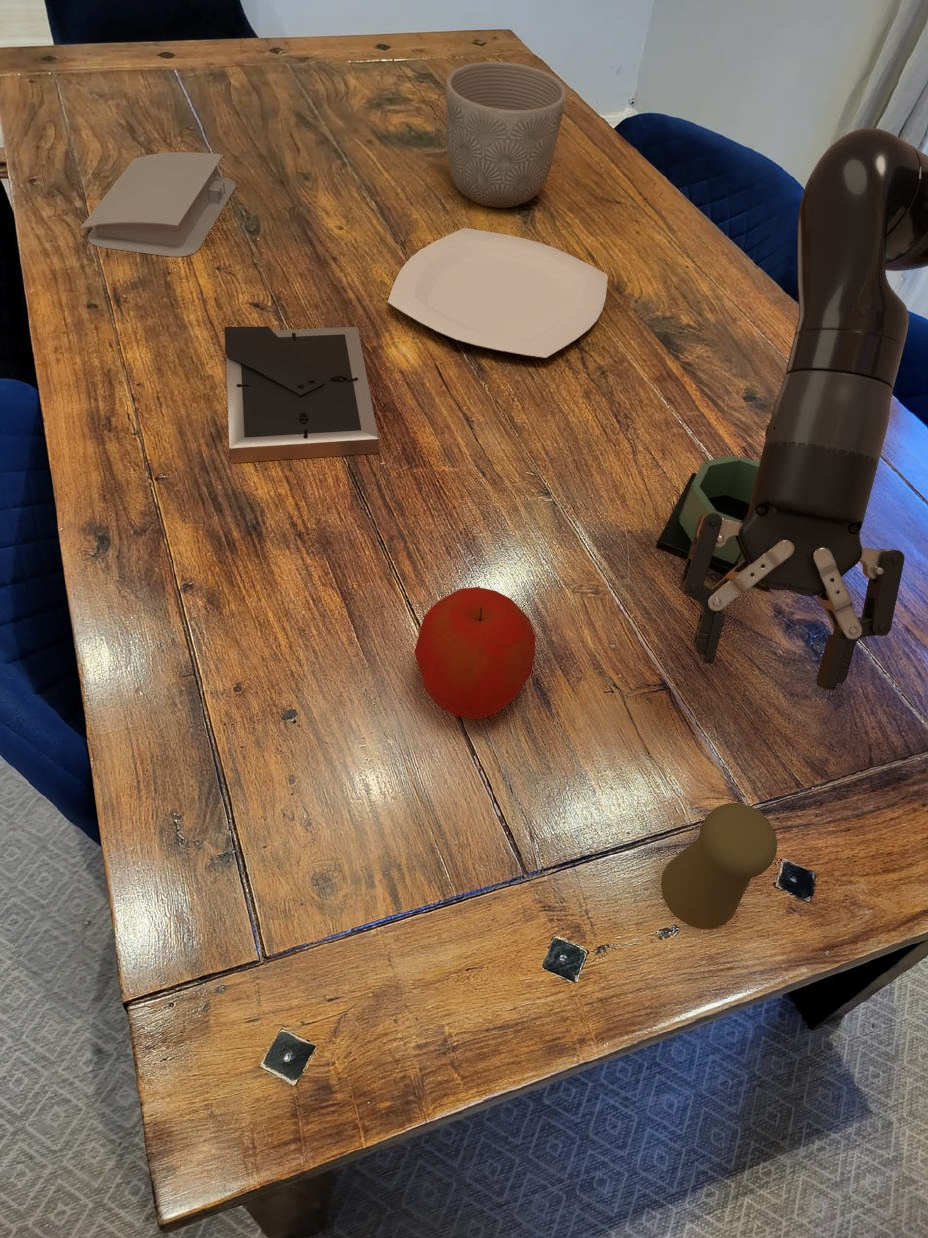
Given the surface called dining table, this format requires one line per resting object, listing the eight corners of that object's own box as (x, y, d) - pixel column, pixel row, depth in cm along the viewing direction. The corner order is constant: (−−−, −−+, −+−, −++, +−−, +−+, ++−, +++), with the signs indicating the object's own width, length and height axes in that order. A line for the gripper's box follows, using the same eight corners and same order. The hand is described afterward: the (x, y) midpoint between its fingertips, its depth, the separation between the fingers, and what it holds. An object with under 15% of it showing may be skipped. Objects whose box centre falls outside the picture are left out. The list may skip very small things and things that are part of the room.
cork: (711, 946, 65) (761, 892, 57) (645, 891, 68) (684, 830, 59) (752, 889, 68) (806, 829, 60) (688, 838, 70) (731, 773, 62)
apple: (517, 747, 75) (536, 670, 65) (402, 724, 75) (404, 645, 66) (532, 653, 81) (551, 570, 72) (425, 632, 81) (431, 548, 72)
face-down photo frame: (227, 347, 106) (231, 463, 93) (224, 326, 103) (228, 442, 91) (358, 341, 108) (378, 453, 96) (357, 320, 106) (378, 433, 94)
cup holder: (795, 518, 94) (817, 477, 90) (768, 592, 88) (789, 552, 83) (690, 478, 97) (706, 436, 92) (655, 547, 90) (670, 505, 86)
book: (240, 179, 131) (237, 152, 128) (192, 259, 117) (187, 231, 114) (139, 166, 131) (133, 138, 128) (80, 244, 117) (71, 215, 114)
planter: (417, 186, 134) (421, 76, 122) (497, 157, 141) (507, 51, 130) (494, 233, 127) (506, 122, 115) (573, 200, 134) (592, 93, 123)
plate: (454, 227, 127) (455, 214, 125) (628, 284, 121) (631, 270, 119) (360, 317, 111) (359, 304, 110) (554, 387, 105) (557, 374, 104)
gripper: (729, 422, 57) (673, 662, 59) (950, 465, 56) (886, 707, 58) (708, 434, 65) (659, 647, 67) (903, 472, 64) (847, 687, 66)
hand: (765, 675), depth 62 cm, fingers open, 8 cm apart
